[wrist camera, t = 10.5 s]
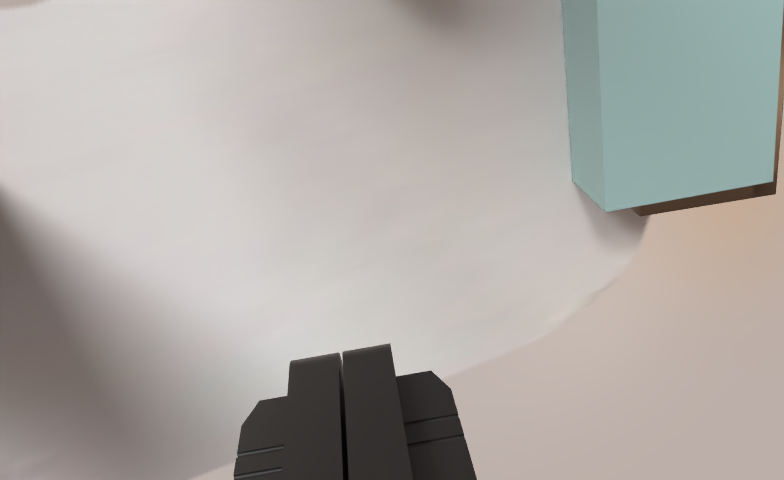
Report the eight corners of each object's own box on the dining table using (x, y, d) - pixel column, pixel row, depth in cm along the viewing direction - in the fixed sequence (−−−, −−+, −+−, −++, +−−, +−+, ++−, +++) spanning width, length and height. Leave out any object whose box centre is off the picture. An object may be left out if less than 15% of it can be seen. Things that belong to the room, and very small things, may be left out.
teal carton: (558, -20, 34) (596, -14, 29) (723, -49, 34) (786, -47, 29) (570, 179, 38) (605, 212, 33) (718, 152, 38) (772, 181, 33)
